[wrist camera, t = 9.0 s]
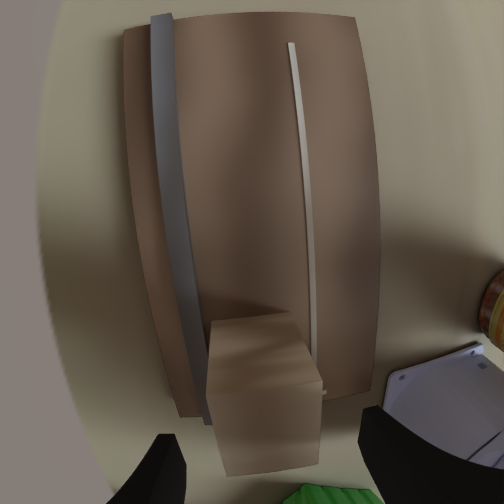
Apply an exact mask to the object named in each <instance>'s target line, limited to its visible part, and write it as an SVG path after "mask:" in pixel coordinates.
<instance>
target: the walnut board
mask: <svg viewBox="0 0 504 504" xmlns="http://www.w3.org/2000/svg"><path fill="white" fill-rule="evenodd" d="M123 87H124V114H125V132H126V146H127V158H128V168H129V178H130V187H131V196H132V204H133V211H134V219H135V225H136V232H137V239H138V245H139V251H140V257H141V262H142V268H143V273H144V279H145V284H146V289H147V294H148V298H149V303H150V308H151V312H152V317H153V321H154V326H155V330H156V334H157V338H158V342H159V346H160V350H161V354H162V358H163V362H164V365H165V369H166V373H167V376H168V380H169V383H170V387H171V390H172V393H173V397H174V400H175V403H176V407H177V410H178V413H179V416H180V418H182V417H203V420H204V423H205V425H213V424H212V420H211V416H210V412H209V408H208V404H207V399H206V385H207V372H208V359H209V346H210V334H211V322H212V321H216V320H226V319H235V318H244V317H253V316H261V315H269V314H277V313H285V312H291V314H292V316H293V318H294V321H295V323H296V325H297V327H298V329H299V331H300V333H301V335H302V338H303V340H304V342H305V344H306V346H307V348H308V350H309V352H310V355H311V357H312V359H313V361H314V363H315V365H316V367H317V370H318V372H319V374H320V376H321V378H322V380H323V391H322V401H326V400H331V399H336V398H341V397H345V396H349V395H354V394H358V393H362V392H366V391H370V386H371V379H372V371H373V362H374V353H375V343H376V332H377V320H378V304H379V284H380V202H379V182H378V166H377V154H376V143H375V133H374V124H373V115H372V108H371V100H370V93H369V87H368V81H367V75H366V69H365V63H364V58H363V53H362V48H361V43H360V38H359V33H358V29H357V25H356V20H355V17H347V16H339V15H329V14H317V13H300V12H245V13H228V14H216V15H206V16H197V17H189V18H182V19H176V20H173V17H172V14H171V13H167V14H161V15H156V16H151V24H149V25H144V26H139V27H135V28H131V29H127V30H124V42H123Z"/></svg>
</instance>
